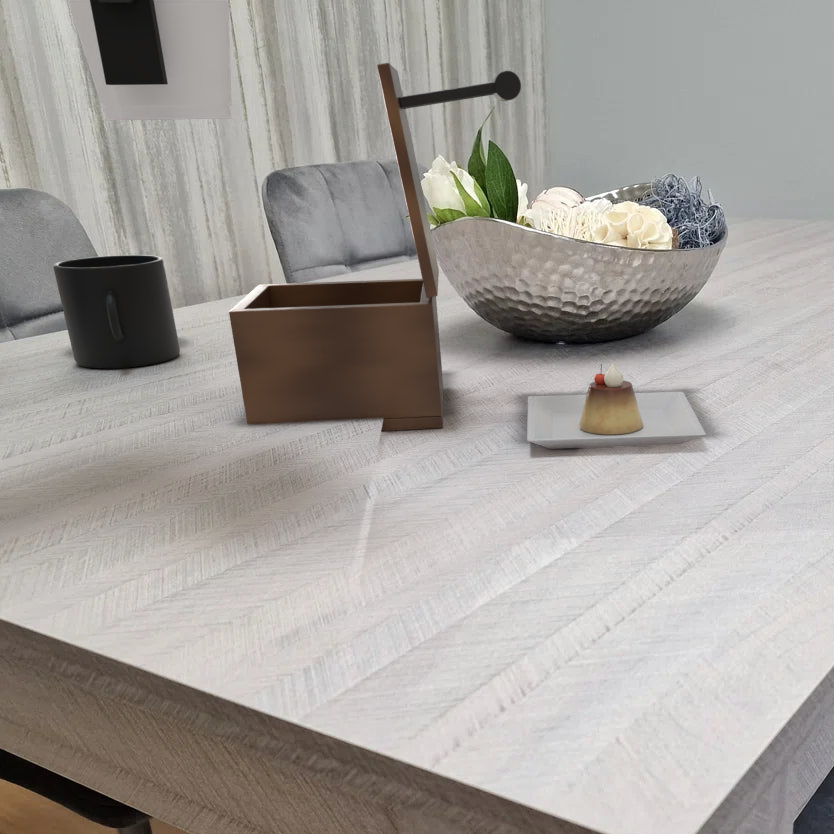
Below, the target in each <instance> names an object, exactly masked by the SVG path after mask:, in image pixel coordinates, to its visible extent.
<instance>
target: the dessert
mask: <svg viewBox="0 0 834 834" xmlns="http://www.w3.org/2000/svg"><path fill="white" fill-rule="evenodd" d="M602 366H603V364H602V363H600V372H602ZM623 375H624V374H623V373H622V372H621V370H619V369H618V367H617V366H615V364H614V363H611V365H610V367H609V368H608V370H607V371H606V372H605V373H596V374H595V375H594V377H593V380H594V381H592V382H591V383H589V385H588V388H587V392H586V394H559V395H530V396H527V425H526V440H527V442H530V443H532V444H535V445H538V446H541V447H544V448H547V449H549V450H559V449H560V450H561V449H585V448H586V449H590V448H619V447H621V448H622V447H648V446H649V447H650V446H651V447H652V446H680V445H683V444H687V443H689V442H692V441H694V440H697V439H699V438H702V437H704V436H706V435H707V434H706V431H705V429H704V428H703V426H702V424H701V422H700V420H699V418H698V416H697V415H696V413H695V411H694V410H693V408H692V406H691V403H690V402H689V399H688V398H687V396H686V395H685V393H684V391H659V392H657V391H656V392H653V391H652V392H635V390H634V387H633V383H632V382H630V381H628V380H624V376H623Z"/></svg>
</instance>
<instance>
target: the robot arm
mask: <svg viewBox="0 0 834 834" xmlns="http://www.w3.org/2000/svg"><path fill="white" fill-rule="evenodd" d="M90 4H91V9H92V14H93V20H94V25H95V30H96V35H97V40H98V46H99V51H100V56H101V61H102V66H103V72H104V77H105V82H106V85H164V84H168V82H167V76H166V71H165V65H164V59H163V53H162V47H161V41H160V35H159V29H158V23H157V18H156V12H155V6H154V0H90Z"/></svg>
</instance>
